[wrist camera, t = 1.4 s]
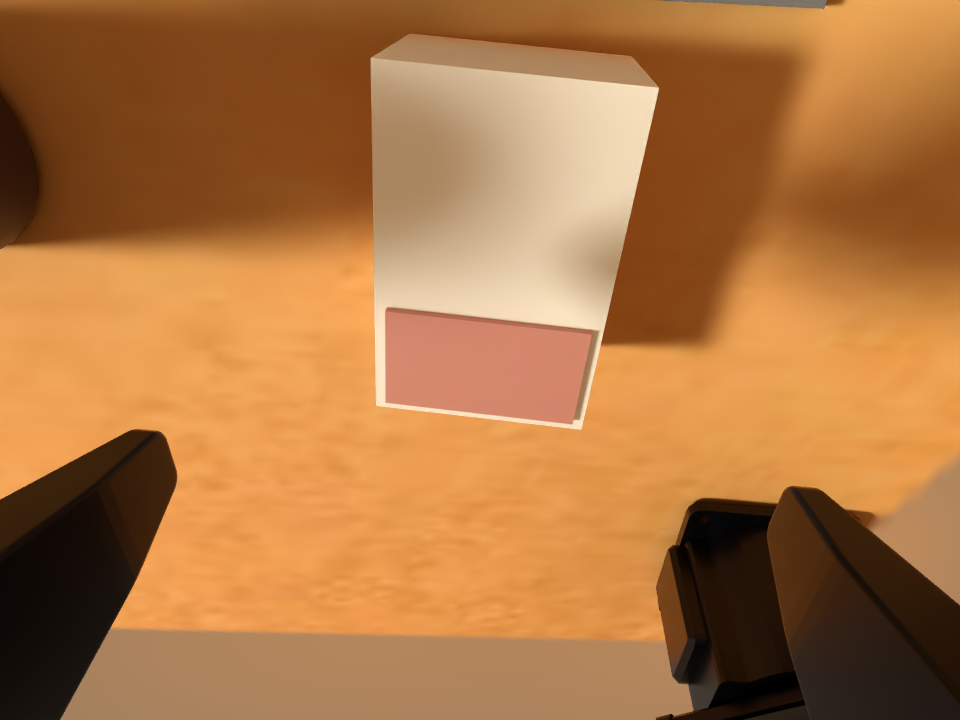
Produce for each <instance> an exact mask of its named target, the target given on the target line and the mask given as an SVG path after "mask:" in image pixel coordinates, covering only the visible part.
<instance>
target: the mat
mask: <svg viewBox="0 0 960 720" xmlns="http://www.w3.org/2000/svg"><path fill="white" fill-rule="evenodd" d="M665 1H685V2H704V3H723V4H743V5H762V6H782V7H801V8H821V9H824V8H825V5H826V1H827V0H665Z"/></svg>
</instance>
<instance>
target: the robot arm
mask: <svg viewBox="0 0 960 720" xmlns="http://www.w3.org/2000/svg"><path fill="white" fill-rule="evenodd" d="M176 483H177V471H176V467H175V464H174V461H173V458H172V455H171V452H170V448H169V445H168V442H167V439H166V437H165V436H164V434H163V433H161V432H159V431H153V430H142V429H134V430H130V431H128V432H126V433H124V434H122V435H121V436H119V437H117V438H115V439H113V440H111V441H109V442H107V443H106V444H104V445H102V446H100V447H98V448H96V449H94V450H92V451H91V452H89V453H87V454H85V455H83V456H81V457H79V458H77V459H76V460H74V461H72V462H70V463H68V464H66V465H64V466H62V467H61V468H59V469H57V470H55V471H53V472H51V473H49V474H47V475H46V476H44V477H42V478H40V479H38V480H36V481H34V482H32V483H31V484H29V485H27V486H25V487H23V488H21V489H19V490H17V491H16V492H14V493H12V494H10V495H8V496H6V497H4V498H2V499H1V500H0V720H60V719H61V717H62V716H63V714H64V712H65V710H66V708H67V706H68V704H69V703H70V701H71V699H72V697H73V695H74V693H75V692H76V690H77V688H78V686H79V684H80V683H81V681H82V679H83V677H84V675H85V673H86V672H87V670H88V668H89V666H90V664H91V662H92V661H93V659H94V657H95V655H96V653H97V651H98V649H99V648H100V646H101V644H102V642H103V640H104V639H105V637H106V635H107V633H108V631H109V630H110V628H111V626H112V624H113V622H114V620H115V619H116V617H117V615H118V613H119V611H120V609H121V608H122V606H123V604H124V602H125V600H126V599H127V597H128V595H129V593H130V591H131V589H132V587H133V585H134V583H135V581H136V579H137V577H138V575H139V573H140V570H141V568H142V566H143V564H144V561H145V559H146V557H147V554H148V552H149V549H150V547H151V545H152V542H153V540H154V537H155V535H156V533H157V530H158V528H159V526H160V523H161V521H162V518H163V516H164V514H165V511H166V509H167V506H168V504H169V502H170V499H171V497H172V494H173V492H174V490H175V487H176ZM699 515H702V516H699ZM656 590H657V595H658V606H659V610H660V611H661V617H662V622H663V628H664V633H665V639H666V644H667V650H668V655H669V661H670V666H671V672H672V676H673V677H674V679H675V680H676V681H677V682H678V683H679V684H688V686H689V691H690V696H691V700H692V705H693V712H689V713H685V714H681V715H677V716H673V715H672V714H668V715H664V716H660V717H657V718H656V720H960V605H959V604H958V603H956V602H955V601H954V600H953V599H951V598H950V597H949V596H948V595H947V594H946V593H944V592H943V591H942V590H941V589H940V588H938V587H937V586H936V585H934V583H932V582H931V581H930V580H929V579H928V578H926V577H925V576H924V575H923V574H922V573H920V572H919V571H918V570H917V569H915V568H914V567H913V566H912V565H911V564H909V563H908V562H907V561H906V560H905V559H904V558H902V557H901V556H900V555H899V554H897V553H896V552H895V551H894V550H893V549H892V548H890V547H889V546H888V545H887V544H885V543H884V542H883V541H882V540H881V539H880V538H878V537H877V536H876V535H875V534H873V533H872V532H871V531H870V530H869V529H868V528H866V527H865V526H864V525H863V524H862V522H861V520H860V519H859V518H858V517H856V516H852V515H851V514H849V513H848V512H847V511H846V510H845V509H843V508H842V507H841V506H840V505H839V504H837V503H836V502H835V501H834V500H833V499H831V498H830V497H829V496H828V495H827V494H825V493H824V492H823V491H821V490H819V489H817V488H811V487H799V486H790V487H788V488H786V489H785V490H784V492H783V493H782V496H781V498H780V500H779V502H778V505H777V507H776V509H773V508H762V507H750V506H739V505H727V504H716V503H705V502H700V503H695V504H692V505H691V506H689V507H688V509H687V510H686V513H685V517H684V520H683V523H682V526H681V529H680V532H679V535H678V538H677V541H676V544H675V545H672V546H671V547H670V548H669V549H668V551H667V554H666V557H665V560H664V563H663V567H662V570H661V573H660V576H659V579H658V582H657V585H656Z"/></svg>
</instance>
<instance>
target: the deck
mask: <svg viewBox="0 0 960 720" xmlns="http://www.w3.org/2000/svg"><path fill="white" fill-rule="evenodd" d="M658 91H659V87H658V86H657V85H656V83H655V82H654V81H653V80H652V79H651V78H650V77H649V75H648V74H647V73H646V72H645V71H644V70H643V68H642V67H641V66H640V65H639V64H638V63H637V62H636V60H635V59H634V58H633V57H632V56H627V55H617V54H607V53H597V52H588V51H578V50H568V49H558V48H548V47H539V46H529V45H519V44H509V43H500V42H490V41H480V40H470V39H460V38H451V37H441V36H431V35H421V34H411V33H410V34H408V35H406V36H405V37H403V38H402V39H400V40H398V41H397V42H395V43H394V44H392V45H390V46H389V47H387V48H386V49H384V50H382V51H381V52H379V53H378V54H376V55H375V56H373V57H371V114H372V176H373V238H374V300H375V362H376V406H383V407H391V408H400V409H409V410H417V411H426V412H434V413H443V414H452V415H460V416H469V417H477V418H486V419H495V420H503V421H512V422H520V423H529V424H538V425H546V426H555V427H563V428H572V429H580V430H581V429H582V425H583V421H584V416H585V412H586V407H587V403H588V399H589V394H590V390H591V385H592V381H593V377H594V372H595V368H596V363H597V359H598V355H599V350H600V346H601V341H602V337H603V333H604V328H605V324H606V320H607V315H608V311H609V306H610V302H611V298H612V293H613V289H614V284H615V280H616V276H617V271H618V267H619V262H620V258H621V254H622V249H623V245H624V240H625V236H626V232H627V227H628V223H629V218H630V214H631V210H632V205H633V201H634V196H635V192H636V188H637V183H638V179H639V175H640V170H641V166H642V161H643V157H644V153H645V148H646V144H647V139H648V135H649V131H650V126H651V122H652V117H653V113H654V109H655V104H656V100H657V95H658Z"/></svg>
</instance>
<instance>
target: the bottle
mask: <svg viewBox="0 0 960 720" xmlns="http://www.w3.org/2000/svg"><path fill="white" fill-rule="evenodd" d="M38 191H39V190H38V183H37V177H36V170H35V164H34V157H33V154H32V152H31V150H30V148H29V145H28V143H27V141H26V139H25V137H24V134H23V132H22V130H21V128H20V125H19V123H18V121H17V119H16V117H15V116H14V115H13V113H12V112H11V111H10V109H9V108H8V107H7V105H6V104H5V103H4V101H3V100H2V99H1V97H0V249H1V248H3V247H5V246H7V245H9V244H10V243H12V242H13V241H14V240H15V239H16V238H17V237H18V235H19V234H20V233H21V232H22V230H23V229H24V228H25V227H26V226H27V224H28V223H29V222H30V221H31V219H32V218H33V214H34V209H35V205H36V200H37V195H38Z"/></svg>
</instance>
